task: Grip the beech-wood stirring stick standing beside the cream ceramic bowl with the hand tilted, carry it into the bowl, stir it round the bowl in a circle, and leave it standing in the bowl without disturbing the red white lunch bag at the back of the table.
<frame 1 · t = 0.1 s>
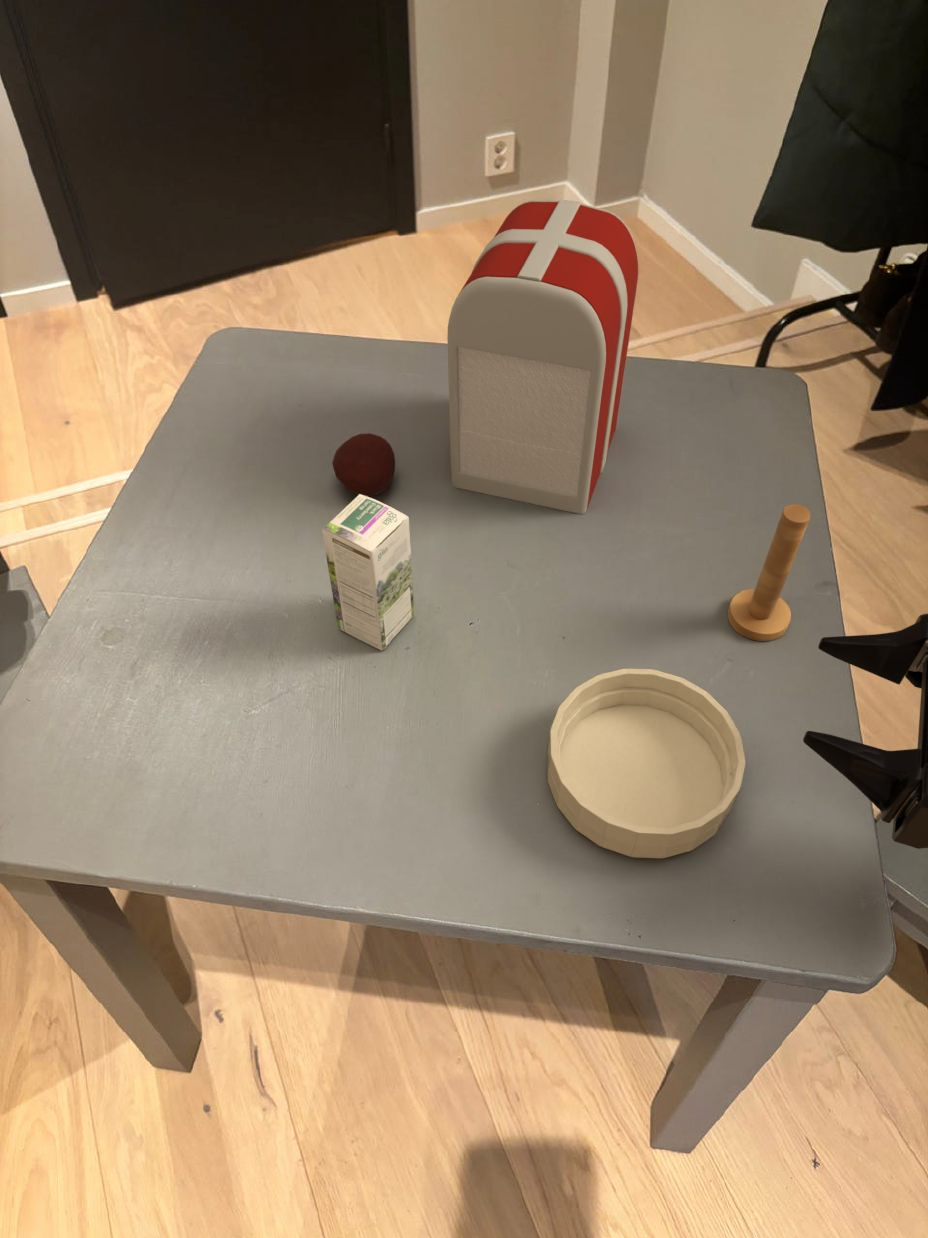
hand: (812, 687, 68), 15 cm above the table, tool horizontal, fingers open, 9 cm apart
stirring stick: (757, 618, 91), on the table
red white lunch bag: (536, 454, 108), on the table
bowl: (638, 775, 80), on the table
potato: (366, 484, 105), on the table
syrup box: (377, 624, 91), on the table
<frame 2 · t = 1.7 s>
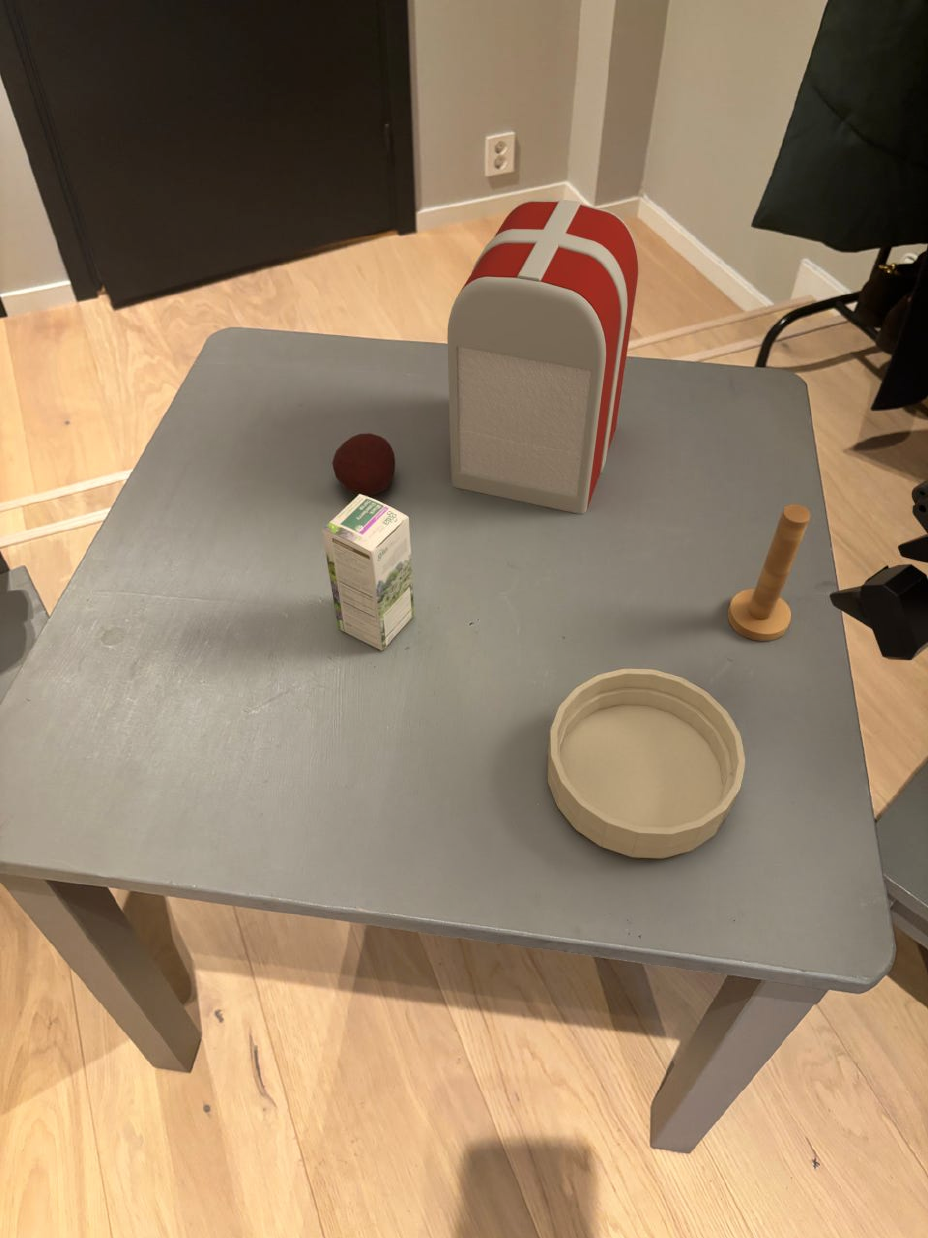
hand: (866, 574, 76), 14 cm above the table, tool tilted 45°, fingers open, 9 cm apart
nothing on the table moved.
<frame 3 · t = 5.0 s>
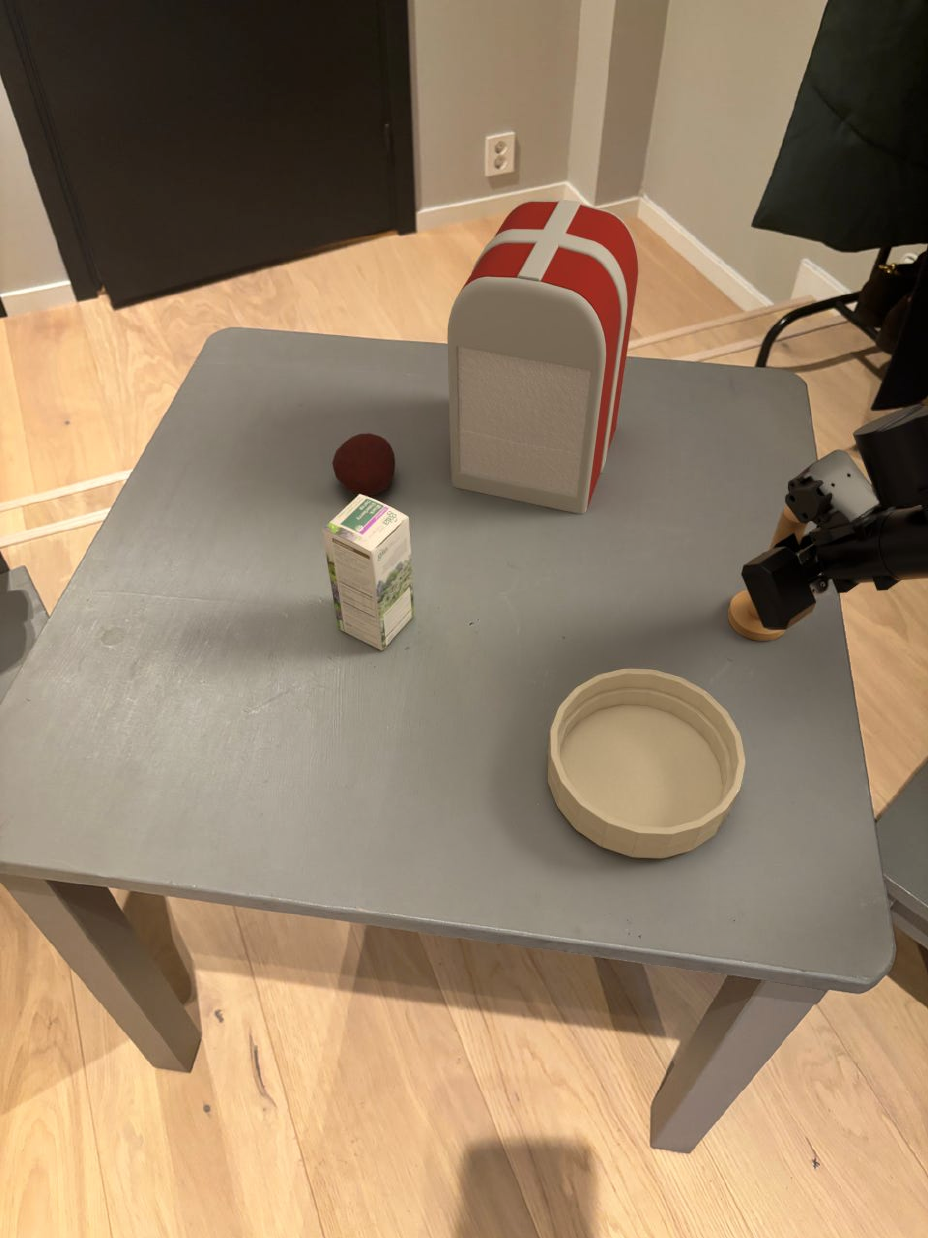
hand: (765, 560, 86), 7 cm above the table, tool tilted 45°, fingers closed on stirring stick, 2 cm apart
stirring stick: (757, 618, 91), on the table, touching gripper
everything else where it was.
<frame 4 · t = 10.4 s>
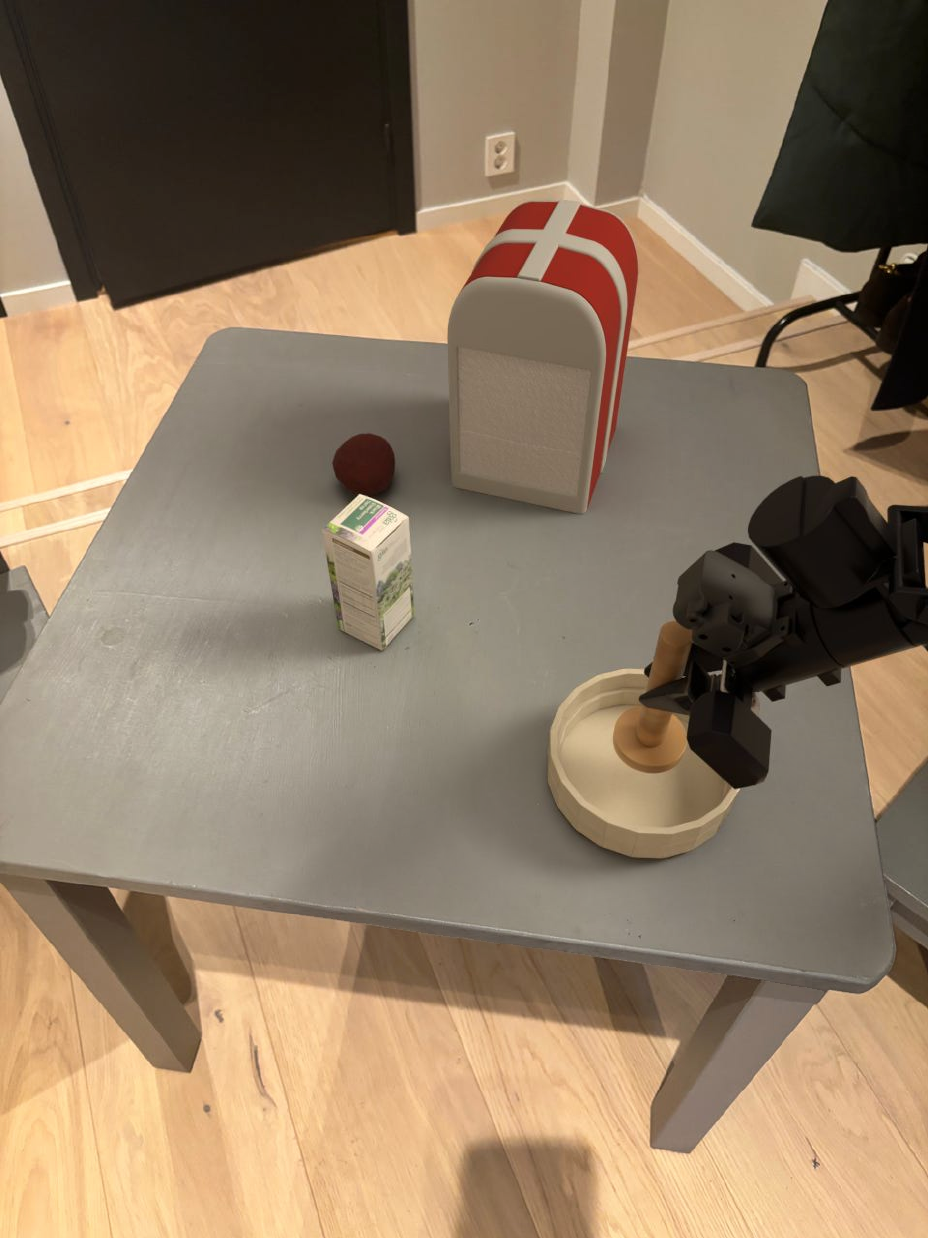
hand: (644, 688, 70), 13 cm above the table, tool tilted 45°, fingers closed on stirring stick, 2 cm apart
stirring stick: (648, 742, 75), point 5 cm above the table, touching gripper
everything else where it was.
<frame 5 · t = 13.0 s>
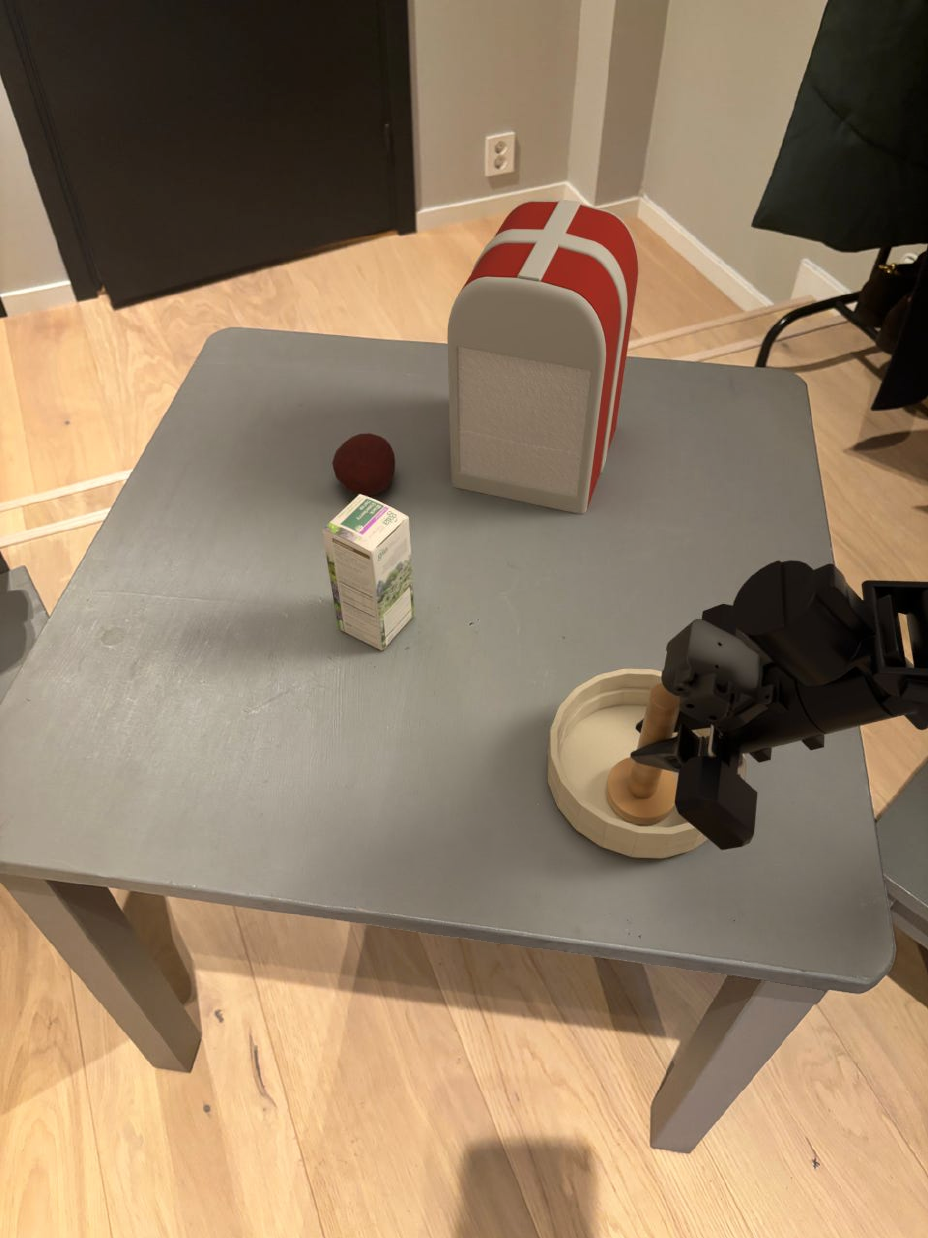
hand: (636, 743, 72), 8 cm above the table, tool tilted 45°, fingers closed on stirring stick, 2 cm apart
stirring stick: (640, 793, 77), point 1 cm above the table, touching gripper
everything else where it was.
when the fingers open (8 cm above the table, at t = 15.6 s): stirring stick stays where it is, resting on bowl.
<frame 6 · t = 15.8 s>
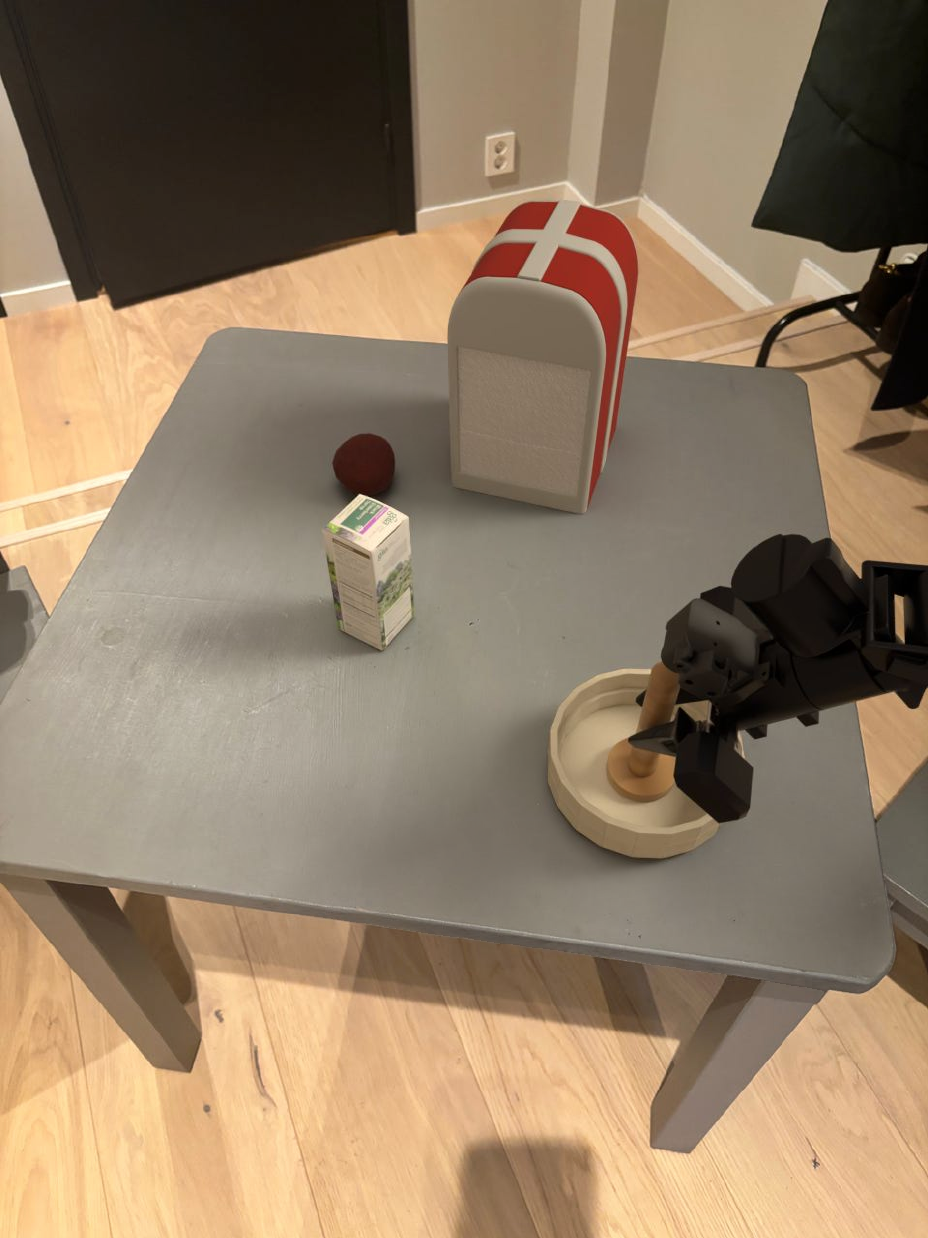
hand: (634, 722, 74), 8 cm above the table, tool tilted 45°, fingers open, 4 cm apart
stirring stick: (640, 772, 79), point 1 cm above the table, touching bowl
everything else where it was.
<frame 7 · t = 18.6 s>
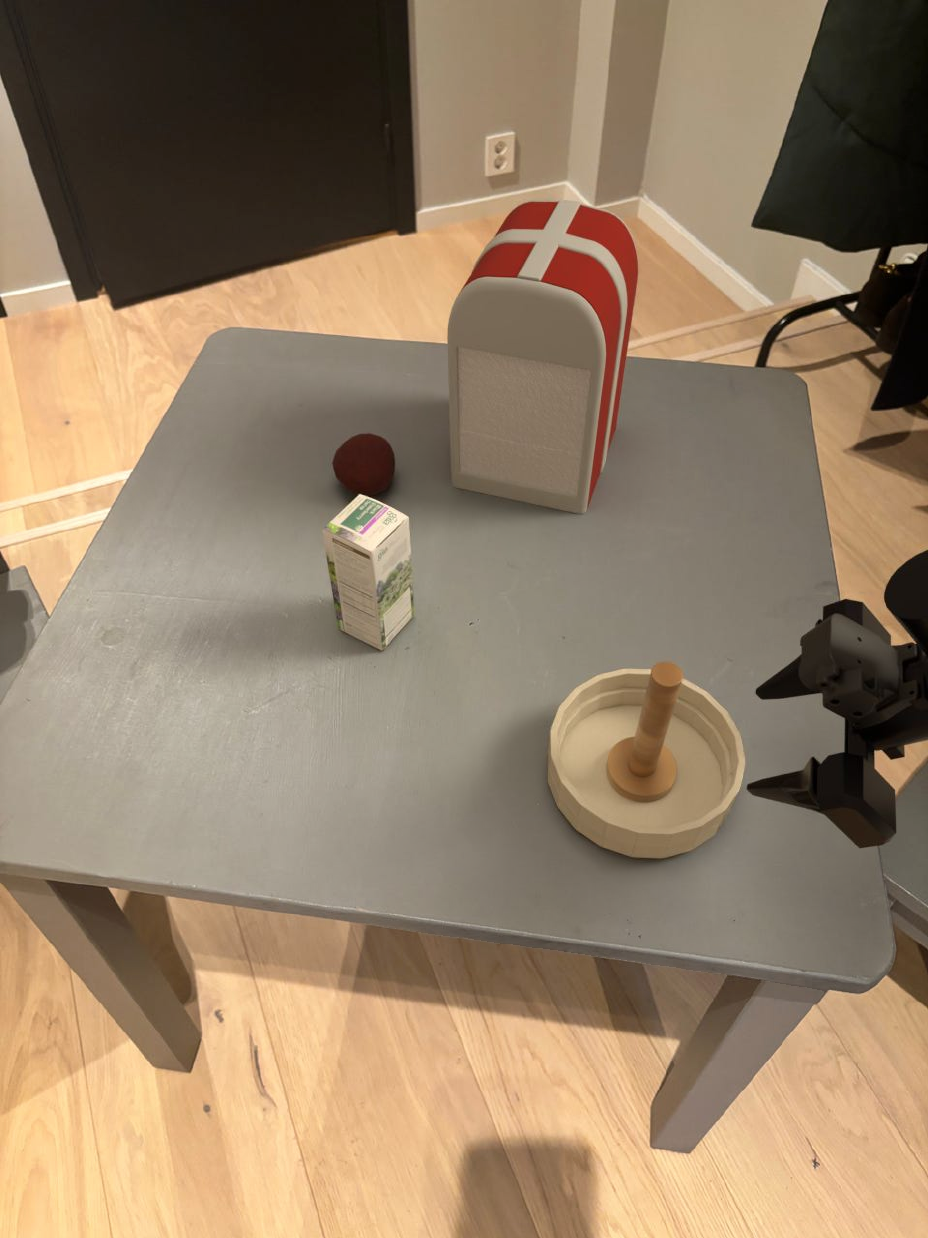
hand: (753, 740, 71), 9 cm above the table, tool tilted 45°, fingers open, 9 cm apart
nothing on the table moved.
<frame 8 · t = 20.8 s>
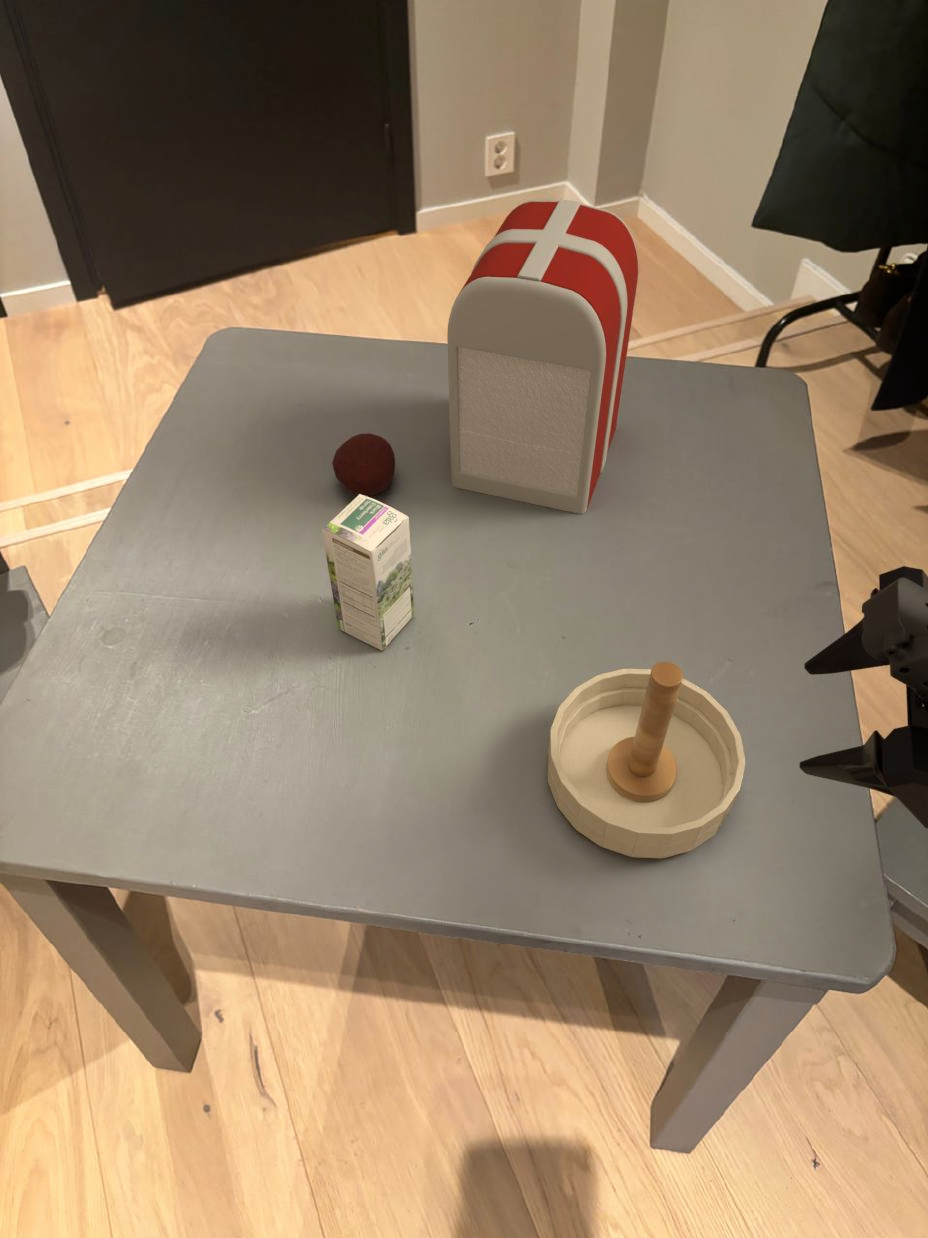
hand: (804, 716, 67), 14 cm above the table, tool tilted 45°, fingers open, 9 cm apart
nothing on the table moved.
at the end: stirring stick inside the target area in the bowl (0.1 cm from its centre), point 0.6 cm above the bowl's base; stirring stick tilted 0°; red white lunch bag moved 0.2 cm from its start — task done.
